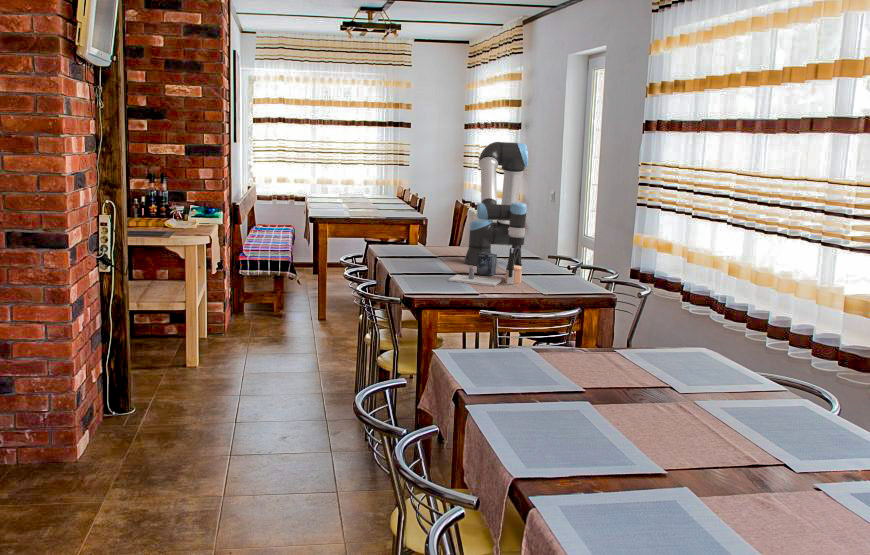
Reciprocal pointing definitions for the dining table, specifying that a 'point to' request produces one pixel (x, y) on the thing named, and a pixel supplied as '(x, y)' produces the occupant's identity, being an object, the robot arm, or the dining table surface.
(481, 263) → the box
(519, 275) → the peach block
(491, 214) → the robot arm
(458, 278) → the white board with peg
